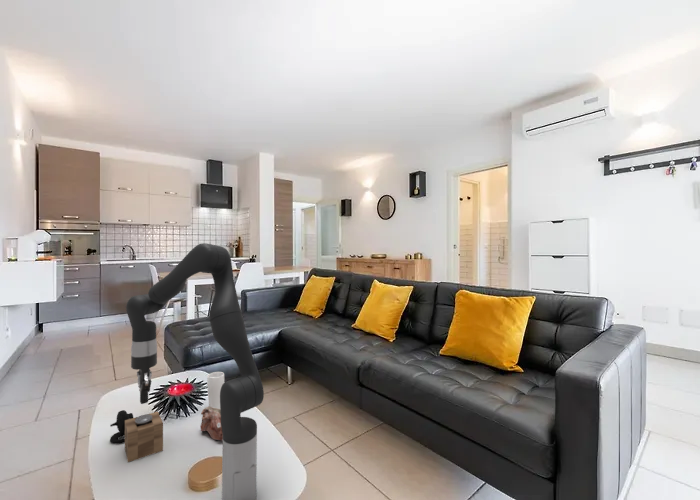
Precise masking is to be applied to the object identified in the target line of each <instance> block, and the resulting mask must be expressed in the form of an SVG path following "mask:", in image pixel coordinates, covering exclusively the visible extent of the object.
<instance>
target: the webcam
mask: <svg viewBox="0 0 700 500" xmlns="http://www.w3.org/2000/svg"><path fill="white" fill-rule="evenodd" d="M132 418H134V414H133V412H132V413H131V412H130V413H129V412H128V413H127V411H126V410H119V411H118V412H117V414H116V420H115V422H113V423H110V427H115V426H116V429H117V430H118V432H116V433H113V435H111V436H110V438H109V441H110V443H111V444H113V445H119V444H120V445H121V444H125V420H128V419H132ZM122 437H123V438H122Z"/></svg>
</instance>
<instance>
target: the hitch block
mask: <svg viewBox="0 0 700 500" xmlns="http://www.w3.org/2000/svg"><path fill="white" fill-rule="evenodd" d="M149 414H150V415H152V421H151V422H150V423H149V424H145V425H142V426H139V425H136V424H135V419H136V418H137V417H138V416H136V417H133V418H132V419H128V420H125V436H124V438H125V442H124V451H125V455H126V460H127V463H130V462H133V461H136V460H139V459H143V458H145V457H148V456H151V455H154V454H157V453H160V452H162V451H164V422H163V420H162V417H161V415H160V414H159V411H155V412H151V413H149Z"/></svg>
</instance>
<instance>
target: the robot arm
mask: <svg viewBox="0 0 700 500" xmlns="http://www.w3.org/2000/svg"><path fill="white" fill-rule="evenodd" d="M232 264H233V263H232V259H231V255H230V253H229V250H228V249H226V247H224V246H220V245H218V244H217V245H216V244H211V243H206V242H205V243H202V242H201V243H198V244H197V245H196V246H194V247H193V248H192V249H191V250H190V251H189V252H188V253H187V254H186V255H185V256H184V257H183V259H181V260H180V261H179V262H178V263H177V265H176V266H175V267H174V268H173V269H172V270H171V271H170V272H169V273H168V274H167V275H166V276H164V277H163V278H161V279H160V280H159V281H157V282H156V283H155V284H153V285H152V286H151V287H150V288H149V290H148V293H144V294H140V295H139V294H137V295H134V296H131V297H130V298H129V299H128V300H127V303H126V306H125V308H126V309H125V310H126V313H127V314H126V315H127V317H128V319H129V323H130V326H131V330H132V331H131V334H132V335H131V348H130V353H131V355H130V357H131V358H130V359H131V361H130V362H131V363H130V367H131V369H132V370H136V371H137V372H136V378H137V385H138V391H139V403H140V404H141V405H143V404H148V402H149V392H151V385H152V379H151V378H152V375H153V374H152V371H151V368H153V367H155V366H156V365H157V364H158V341H157V323H156V322H155V321H152V320H146V319H147V318H146V316H147V315H152V314H155V313H158V312H159V311H161V310H162V309H163V308H164V307H165V305H167V303H168V302H169V301H170V300H172V299H173V298H174V297H176V296H177V295H179V294H180V293H181V292H182V291H183V289H184V288H185V286H186V282H187V280H189V278H190V277H193V276H194V275H197V274H198V273H203V274H211V276H212V280H213V284H214V296H213V298H212V302H211V305H210V309H209V314H208V315H209V317H208V318H209V323H210V327H211V328H210V329H211V332H212V336H213V338H214V339H215V341H216V343H218V345H219V346H220V347H221V348H222V349H223V350H225V352H226V353H228V355H230V356H231V358H232V359H233V360H234V361H235V364H236V366H237V368H238V370H239V374H240V376H239V377H236V378H232V379H230V380H227V381H224V383H223V385H222V387H221V390H220V411H221V427H222V433H223V439H222V456H221V457H222V459H221V460H222V461H221V462H222V463H221V465H222V466H221V468H222V469H221V470H222V471H221V474H222V475H221V500H257V482H258V481H257V477H258V476H257V474H258V473H257V472H258V471H257V470H258V469H257V468H258V467H257V464H258V462H257V459H258V457H257V456H258V447H257V446H258V424H257V421H256V420H255V419H253V418H251V417H249V416H242V415H241V414H242V413H244V412H246V411H249V410H251V409H254V408H255V407H258V406H260V405H261V404H262V403H263V401H264V396H265V393H264V392H265V391H264V385H263V382H262V379H261V376H260V375H261V374H260V373H259V370H258V366H257V364H256V362H255V358H254V356H253V355H254V354H253V352H252V349H251V346H250V341H249V337H248V335H247V331H246V330H247V329H246V327H245V326H246V325H245V320H244V316H243V313H242V309H241V306H240V301H239V298H238V297H239V296H238V294H237V293H238V292H237V289H236V285H235V278H234V272H233V265H232Z"/></svg>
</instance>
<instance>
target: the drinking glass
mask: <svg viewBox="0 0 700 500" xmlns="http://www.w3.org/2000/svg"><path fill="white" fill-rule="evenodd" d="M206 379H207V380H206V381H207V382H206V384H207V385H206V387H207V396H208V398H207V399H208V406H210V407H213V408H217V409H220V390H221V387H222V385H223V383H225V373H224V372H222V371H214V372H210V373H209V374H207V378H206Z"/></svg>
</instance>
